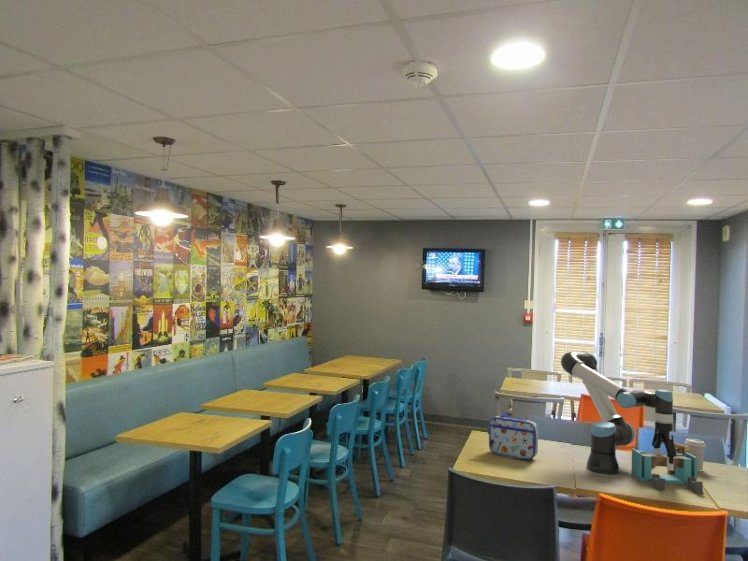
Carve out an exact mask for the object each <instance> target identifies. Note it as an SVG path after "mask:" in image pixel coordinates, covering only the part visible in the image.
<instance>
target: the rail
mask: <svg viewBox="0 0 748 561" xmlns="http://www.w3.org/2000/svg"><path fill="white" fill-rule="evenodd" d="M644 455H650V456H652V467H664V468H665V467H666V468H667V455H668V454H660V455H656V454H654V453H649V454H642V465H644ZM683 458H687V457H684V456H676V457H674V467H676V468H683Z"/></svg>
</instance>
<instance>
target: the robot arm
mask: <svg viewBox="0 0 748 561" xmlns="http://www.w3.org/2000/svg"><path fill="white" fill-rule="evenodd" d="M560 365H561V367H562V369H563V371H565V372H566V373H567V374H568V375H570V376H572V377H574V378H578V380H581V381H582V383H583V385H584V386H585V389H586V391H587V392H588V395H589V397H590V398H591V400H592V403H593V404H594V406H595V408H596V410H597V412H598V415H599V416H600V419H601V420H602V421H600V420H599V421H595V422H593V423H592V424H591V429H590V454H589V456H588V459H587V461H586V467H587V469H588V470H591V471H593V472H596V473H600V474H607V475H615V474H620V466H619V462H618V460H617V455H616V450H617V449H616V448H617V447H625V446H627V445H630V444H632V443H633V442H634V439H635V437H636V434H635V430H634V428H633V426H632V425H631V424H630V423H628V422H626V420H625V419H624V417H623V416H622V415H619V414H618V412H617V410H616V408H615V406H614V404H613V403H612V401H611V399H613V400H614V401H616V403H617V404H618V406H620V408H623V409H634V408H640V407H646V408H653V409H654V420H655V421H654V434H653V437H652V440H651V441H652V442H651V446H652V448H653V454H656V455H661V448H662V447H661V445H662V444H664V447H665V451H666V455H667V467H666V471H668V470H671V471H674V457H676V451H675V446H674V443H675V442H674V435H673V434H670V432H672V431H673V430H674V428H673V420H674V419H673V418H674V414H673V412H674V411H673V408H674V399H673V398H674V397H673V392H672V391H670V390H668V389H655V390H654V392H651V391H646V390H640V389H633V390H632V391H630V390H629V389H626V388H624V387H623V386H622V385H620V384H618V383H616V382H615V381H613V380H611V379H610V378H608V377H606V376H604V375H603V374H600V372H599V370H598V368H597V367H598V360H597V358H596V356H595V355H594V354H593V353H591V352H589V351H588V352H587V351H569V352H566V353H565V354H563V355H562V357H561V358H560ZM610 398H611V399H610Z"/></svg>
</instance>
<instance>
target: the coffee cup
mask: <svg viewBox="0 0 748 561" xmlns="http://www.w3.org/2000/svg"><path fill="white" fill-rule="evenodd" d="M684 445H686V446H689V454H691V455H693V456H695V457H697V470H699V471H698V472H701V471H700V470H702V471H703V470H704V469H703V468H704V458H705V457H704V456H705V450H706V449H705V448H706V447H707V446H706V443H705V442H704V441H703V440H701V439H696V438H686V439H685V441H684Z"/></svg>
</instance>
